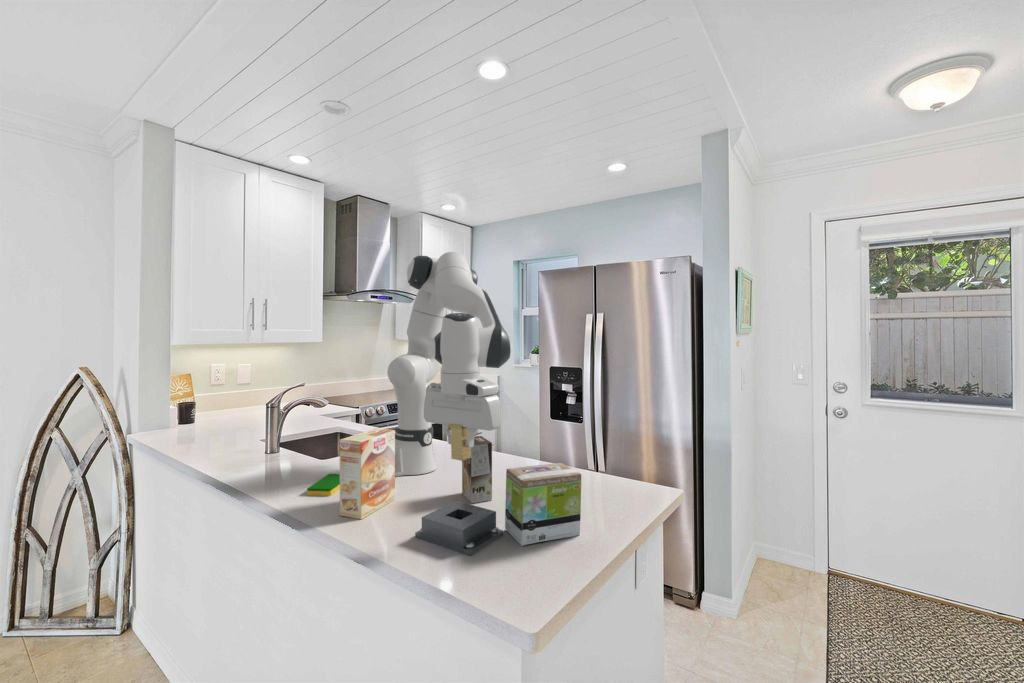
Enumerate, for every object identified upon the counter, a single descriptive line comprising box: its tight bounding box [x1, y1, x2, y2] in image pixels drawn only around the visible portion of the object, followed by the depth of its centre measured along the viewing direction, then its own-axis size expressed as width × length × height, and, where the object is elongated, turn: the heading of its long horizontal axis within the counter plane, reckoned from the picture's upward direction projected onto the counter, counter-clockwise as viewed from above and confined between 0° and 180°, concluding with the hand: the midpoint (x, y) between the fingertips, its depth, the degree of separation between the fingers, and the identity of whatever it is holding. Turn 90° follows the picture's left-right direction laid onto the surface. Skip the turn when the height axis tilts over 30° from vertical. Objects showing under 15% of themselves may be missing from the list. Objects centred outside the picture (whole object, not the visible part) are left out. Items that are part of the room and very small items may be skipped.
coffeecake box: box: [339, 427, 396, 520], centre depth 124 cm, size 15×7×20 cm, turn 160°
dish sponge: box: [306, 473, 340, 497], centre depth 140 cm, size 7×14×2 cm, turn 175°
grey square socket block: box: [414, 500, 504, 556], centre depth 108 cm, size 16×12×5 cm
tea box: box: [504, 462, 582, 547], centre depth 109 cm, size 15×10×15 cm, turn 114°
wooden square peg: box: [449, 424, 471, 462], centre depth 107 cm, size 4×4×8 cm
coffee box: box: [461, 435, 493, 504], centre depth 132 cm, size 9×6×16 cm
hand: (461, 445), depth 107 cm, fingers closed on wooden square peg, 3 cm apart
